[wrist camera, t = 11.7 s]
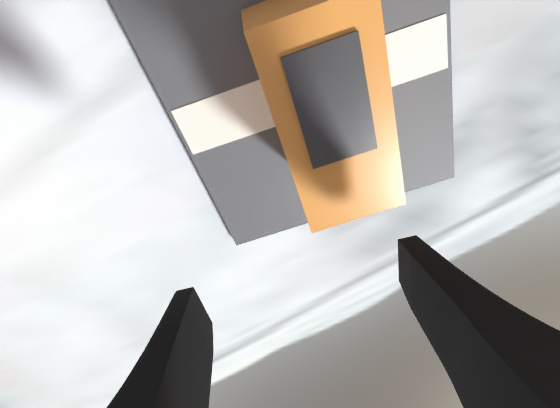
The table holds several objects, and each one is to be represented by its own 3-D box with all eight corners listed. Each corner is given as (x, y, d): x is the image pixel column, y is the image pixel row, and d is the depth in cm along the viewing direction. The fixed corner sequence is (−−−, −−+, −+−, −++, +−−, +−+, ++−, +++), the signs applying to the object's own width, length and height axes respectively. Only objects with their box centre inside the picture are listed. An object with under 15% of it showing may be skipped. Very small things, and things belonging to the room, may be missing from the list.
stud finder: (292, 165, 20) (312, 235, 15) (240, 9, 15) (243, 32, 10) (362, 142, 19) (407, 205, 14) (330, -24, 15) (380, -18, 10)
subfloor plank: (236, 239, 23) (236, 245, 22) (-8, -236, 11) (-20, -246, 11) (449, 172, 22) (454, 177, 21) (428, -439, 10) (439, -463, 9)
